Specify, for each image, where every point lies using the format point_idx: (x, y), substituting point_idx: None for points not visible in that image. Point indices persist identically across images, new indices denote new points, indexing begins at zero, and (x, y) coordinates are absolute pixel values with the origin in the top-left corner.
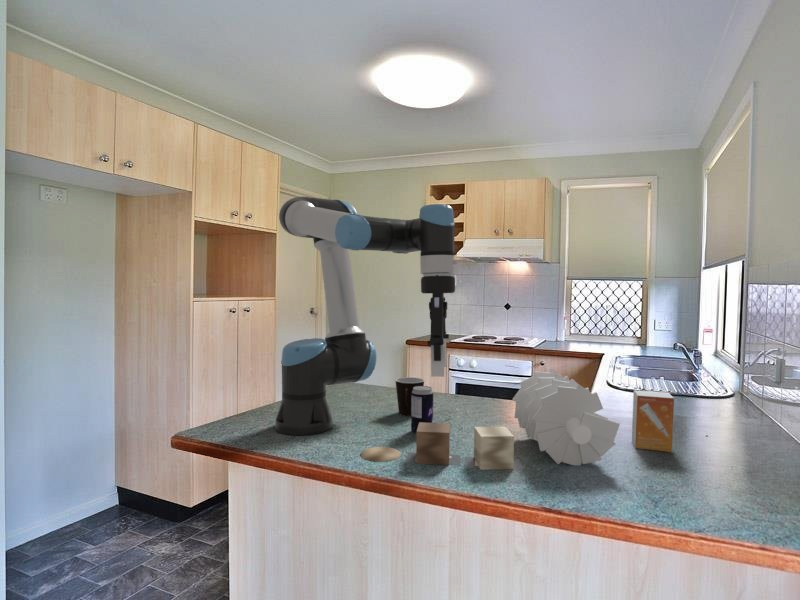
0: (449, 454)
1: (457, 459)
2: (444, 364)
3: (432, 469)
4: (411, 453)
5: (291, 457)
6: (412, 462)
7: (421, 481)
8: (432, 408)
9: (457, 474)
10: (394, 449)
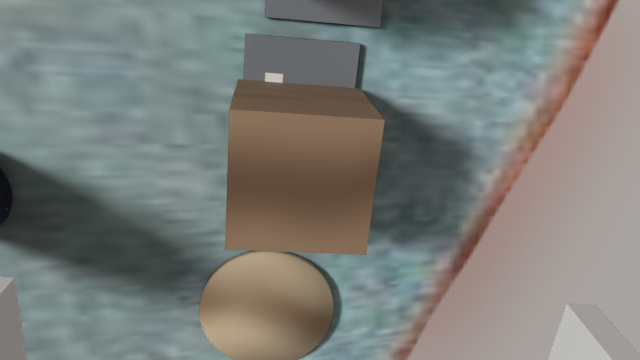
0: (254, 81)
1: (297, 51)
2: (4, 311)
3: None
4: None
5: None
6: None
7: (476, 176)
8: None
9: (425, 59)
10: (220, 275)
